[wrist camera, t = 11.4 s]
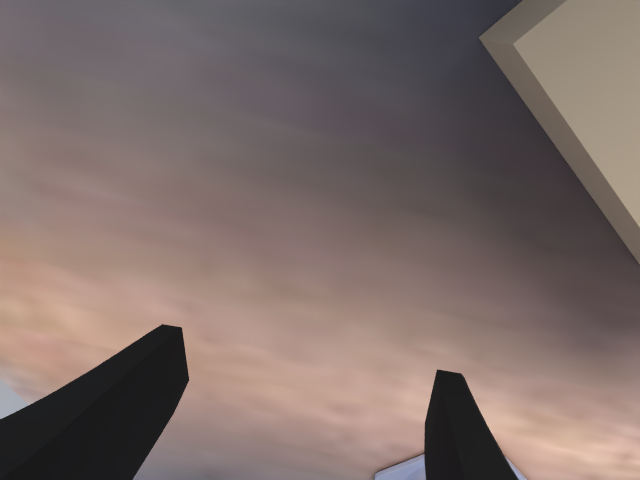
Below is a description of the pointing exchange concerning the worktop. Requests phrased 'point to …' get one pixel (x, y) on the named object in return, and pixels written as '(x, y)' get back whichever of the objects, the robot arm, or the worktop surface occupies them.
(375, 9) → the worktop surface
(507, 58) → the carton
